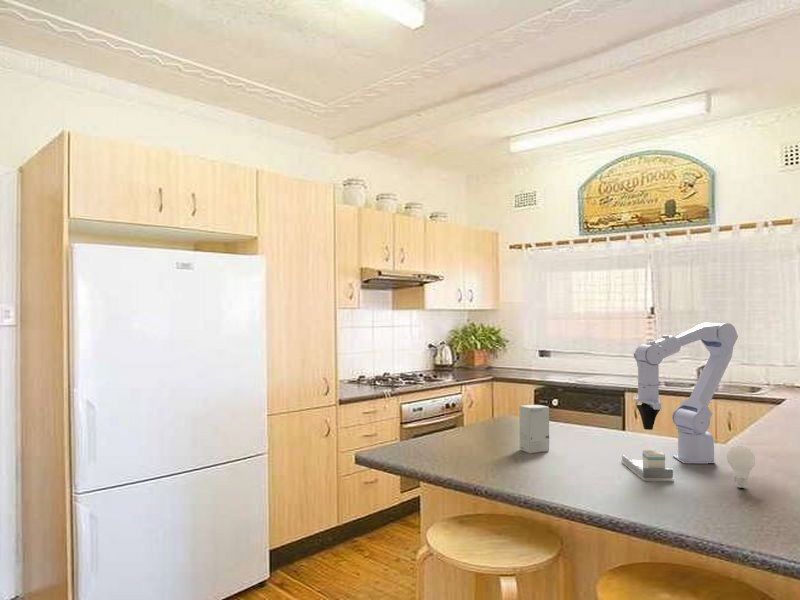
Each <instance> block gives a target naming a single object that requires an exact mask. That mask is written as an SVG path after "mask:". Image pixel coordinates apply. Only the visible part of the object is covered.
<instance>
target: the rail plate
mask: <svg viewBox="0 0 800 600" xmlns="http://www.w3.org/2000/svg"><path fill="white" fill-rule="evenodd" d="M621 457H622V458H621V463H622V465H624V466H625V467H626V468H628V469H629V470H630V471H631V472H632V473H634V474H635V475H636V476H637V477H638V478H640V479H641V481H643V482H675V478H674V470H673V468H672V467H671V468H669V467H668V468H667V467H665V468H643V459H630V458H629V457H628V456H627V455H625V454H622V455H621Z"/></svg>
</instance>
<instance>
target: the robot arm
mask: <svg viewBox="0 0 800 600" xmlns="http://www.w3.org/2000/svg"><path fill="white" fill-rule="evenodd" d="M661 337H662V338H659V339H657V340H651V341H649V343H648V344H640V345H638V346H637V348H635V351H634V352H633V358H634V360H635V361H636V366H637V394H636V395H635V397H634V398H633V400H634V402H638V403H639V402H640V403H641V404H636V408H637V410H638V412H639V414H640V418H641V423H642V427H643V429H644V430H646V431H647V430H648V431H652V430H653V429H654V425H655V421H656V418H657V416H658V414H659V412H660V411H661V410H662V402H661V401H660V398H659V388H660V387H659V383H660V382H659V381H660V380H659V378H660V377H659V375H660V374H659V370H660V369H659V367H660V366H659V365H660V364H661V363H662V362H663V360H664V359H666V358H668V357H670V356H673V355H675V354H677V353H679V352H680V351H681V348H682V347H683V346H686V345H689V344H691V343H695V342H698V341H701V343H702V344H703V346H704V347H705V349H706V350H707V351H708V352H709V357H708V359H707V361H706V364H705V366H704V368H703V369H702V372H701V374H700V376H699V377H698V379H697V380H696V381H697V382H696V384H695V385H694V387H693V390H692V391H691V394H690V395H689V397H688V398H686V399H685V400H683V401H681V402H680V404H679V406H678V407H676V408H675V409H674V410H673V412H672V415H671V421H672V423H673V425H674V426H675V427H676V428H675V429H676V430H677V454H673V455H672V457H673V458H675V459H676V460H677V461H680V462H681V463H683V464H708V463H715V464H716V461H715V441H714V437H713V434H712V433H711V432H709V431H708V429H709V428H710V424H711V418H712V415H713V413H712V411H711V409H710V407H709V405H710V404H711V403H710V402H711V400H712V398H713V397H714V394H715V392H716V391H717V388H718V386H719V384H720V383H721V380H722V379H723V376H724V374H725V373H726V370H727V368H728V366H729V365H730V364H729V363H730V362H731V359H732V357H733V354H734V353H733V352H734V347H735V344H736V342H737V341H738V337H739V335H738V333H737V329H736V328H735V326H734V325H733V324H731V323H729V322H725V323H722V322H720V323H719V322H714V323H713V322H702V323H700V324H697V325H696V326H694V327H692V328H690V329H688V330H686V331H684V332H682V333H680V334H678V335H676V336H674V335H673V334H664V335H662V336H661Z"/></svg>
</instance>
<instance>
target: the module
mask: <svg viewBox="0 0 800 600" xmlns="http://www.w3.org/2000/svg"><path fill="white" fill-rule="evenodd" d="M641 455H642V460H643V468H666V454H664V452H662V451H661V450H646V449H645V450H642V454H641Z"/></svg>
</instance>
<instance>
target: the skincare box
mask: <svg viewBox="0 0 800 600" xmlns="http://www.w3.org/2000/svg"><path fill="white" fill-rule="evenodd" d="M518 407H519V450H520V451H523V452H525V453H527V454H536V453H541V452H542V453H543V452H550V407H549V406H547V405H541V404H527V405H526V404H524V405H523V404H522V405H519V406H518Z"/></svg>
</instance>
